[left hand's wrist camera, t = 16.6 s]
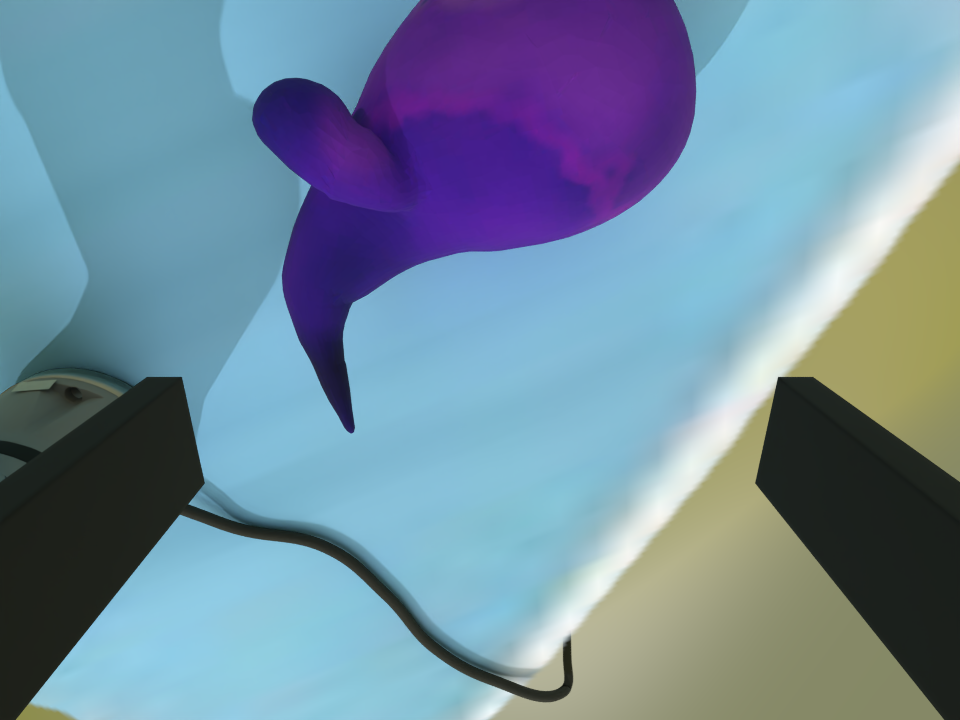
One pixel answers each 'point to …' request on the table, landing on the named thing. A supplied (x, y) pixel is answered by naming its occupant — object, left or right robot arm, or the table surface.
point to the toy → (473, 145)
